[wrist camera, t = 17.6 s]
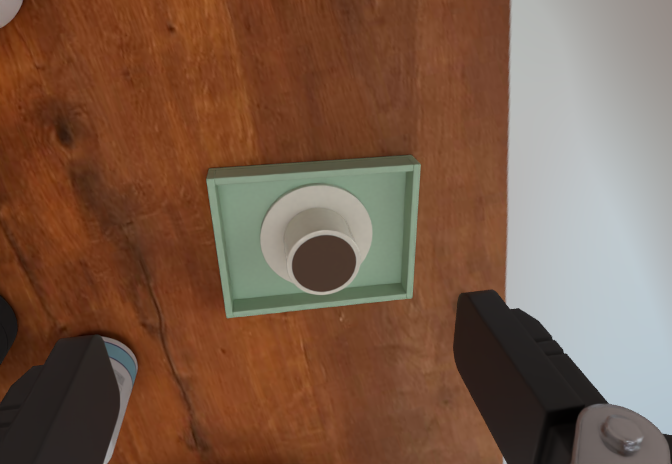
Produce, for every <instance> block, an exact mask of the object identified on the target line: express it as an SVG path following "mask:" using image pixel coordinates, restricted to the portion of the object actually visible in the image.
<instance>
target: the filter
mask: <svg viewBox="0 0 672 464" xmlns="http://www.w3.org/2000/svg"><path fill="white" fill-rule="evenodd" d="M372 234H373V232H372V223H371V219H370V217H369V214H368V212H367V210H366V208H365V207H364V205H363V204H362V203H361V201H360V200H359V199H358V198H357V197H356V196H355V195H353V194H352V193H351V192H349V191H347V190H346V189H344V188H341V187H339V186H336V185H332V184H325V183H312V184H306V185H302V186H299V187H296V188H294V189H291V190H290V191H288V192H286V193H284V194H283V195H282V196H280V197H279V198H278V199H277V200H276V201H275V202H274V203H273V204H272V205H271V207H270V208H269V209H268V211H267V213H266V214H265V217H264V219H263V221H262V225H261V230H260V245H261V250H262V253H263V256H264V258H265V260H266V262H267V263H268V265H269V266H270V268H271V269H272V270H273V271H274V272H275V273H276V274H278V275H279V276H280V277H282V278H283V279H285V280H287V281H289V282H291V283H294V284H295V285H296V286H297V287H298V288H299V289H301V290H303V291H305V292H307V293H310V294H315V295H327V294H332V293H335V292H338V291H340V290H342V289H344V288H345V287H346V286H348V285H349V284H350V283H351V282H352V281H353V280H354V278H355V277H356V275H357V273H358V271H359V268H360V265H361V263H362V262H363V261H364V259H365V258H366V256H367V254H368V252H369V249H370V246H371V242H372Z"/></svg>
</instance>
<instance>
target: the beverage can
mask: <svg viewBox="0 0 672 464" xmlns="http://www.w3.org/2000/svg"><path fill="white" fill-rule="evenodd" d="M101 337H102V336H101ZM102 338H103V340H104V343H105V346H106V349H107V352H108V355H109V358H110V361H111V364H112V367H113V370H114V374H115V377H116V380H117V383H118V386H119V391H120V411H119V416H118V420H117V423H116V426H115V429H114V432H113V435H112V438H111V441H110V444H109V448H108V451H107V454H106V457H105V460H104V463H103V464H107V463H108V462H109V460H110V459H111V457H112V454H113V451H114V447H115V444H116V441H117V437H118V434H119V431H120V427H121V424H122V421H123V417H124V414H125V411H126V407H127V404H128V401H129V397H130V394H131V391H132V387H133V384H134V381H135V377H136V374H137V370H138V364H137V360H136V357H135V355H134V354H133V352H132V351H131V350H130V349H129V348H128V347H127V346H125V345H124V344H123V343H121V342H119V341H117V340H114V339H112V338H108V337H102Z"/></svg>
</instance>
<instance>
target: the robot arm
mask: <svg viewBox="0 0 672 464" xmlns="http://www.w3.org/2000/svg"><path fill="white" fill-rule="evenodd" d="M453 351H454V358H455V362H456V366H457V369H458V371H459V373H460V375H461V377H462V379H463V381H464V383H465V385H466V386H467V388H468V390H469V392H470V394H471V396H472V398H473V400H474V402H475V404H476V405H477V407H478V409H479V411H480V413H481V415H482V417H483V419H484V421H485V422H486V424H487V426H488V428H489V430H490V432H491V434H492V436H493V438H494V440H495V441H496V443H497V445H498V447H499V449H500V451H501V453H502V455H503V457H504V459H505V460H506V462H507V464H672V435H667V434H662V433H661V432H660V430H659V429H658V428H657V427H656V426H655V425H654V424H652V423H651V422H650V421H649V420H647V419H646V418H645V417H643V416H641V415H640V414H638V413H636V412H634V411H632V410H629V409H627V408H624V407H621V406H617V405H612V404H609V403H608V402H607V401H606V400H605V399H604V398H603V396H602V395H601V394H600V393H599V392H598V390H597V389H596V388H595V387H594V386H593V384H592V383H591V382H590V381H589V380H588V379H587V377H586V376H585V375H584V374H583V373H582V371H581V370H580V369H579V368H578V367H577V366H576V364H575V363H574V362H573V361H572V360H571V358H569V356H568V355H567V354H564V352H563V349H562V348H561V347H560V346H559V344H558V343H557V342H556V341H555V340H553V339H552V336H551V335H550V334H549V333H548V331H547V330H546V329H545V328H544V327H543V326H542V324H541V323H540V322H539V321H538V320H536V319H535V318H533V317H532V316H530V315H528V314H527V313H525V312H524V311H522V310H520V309H519V308H517V309H509V307H508V306H507V305H506V304H505V302H504V301H503V300H502V298H501V297H500V296H499V295H498V293H497V292H496V291H494V290H484V291H475V292H467V293H461V294H460V295H459V297H458V302H457V313H456V323H455V333H454V343H453ZM119 411H120V391H119V386H118V383H117V380H116V377H115V374H114V370H113V367H112V364H111V361H110V358H109V355H108V352H107V349H106V346H105V343H104V340H103V338H102V337H101V336H100V335H98V334H96V335H87V336H79V337H70V338H62V339H59V340H58V341H57V343H56V344H55V346H54V348H53V349H52V351H51V353H50V355H49V357H48V358H47V360H46V362H45V364H44V365H39V366H33V367H32V368H31V369H29V370H28V371H27V372H26V373H25V374H24V375H23V376H22V377H21V378H19V379H18V380H17V381H16V382H15V383H14V384H13V385H12V386H11V387H10V389H9V390H8V392H7V393H6V395H5V397H4V398H3V400H2V402H1V403H0V464H103V463H104V460H105V457H106V454H107V451H108V448H109V444H110V441H111V438H112V435H113V432H114V429H115V426H116V423H117V420H118V416H119Z"/></svg>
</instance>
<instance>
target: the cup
mask: <svg viewBox="0 0 672 464" xmlns="http://www.w3.org/2000/svg"><path fill="white" fill-rule="evenodd" d="M22 2H23V0H0V28H1V27H3V26H5V25H6V24H7V23H9V22H10V21H11V20H12V19H13V18H14V17H15V15H16V14H17V12H18V11H19V9H20V7H21V5H22Z"/></svg>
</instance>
